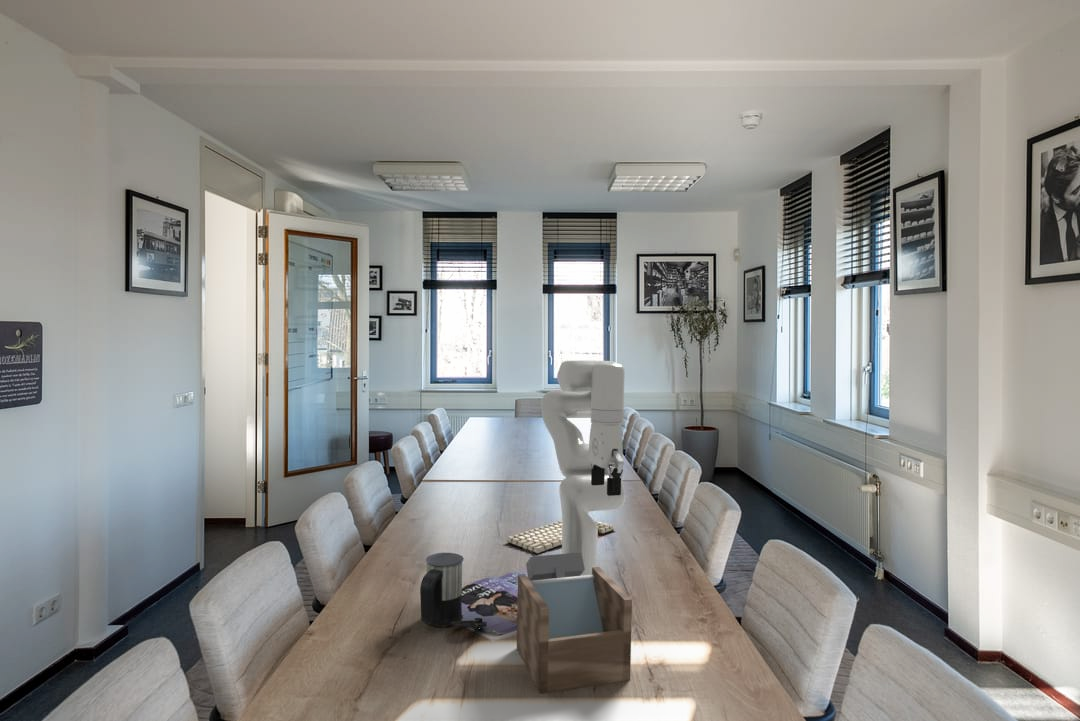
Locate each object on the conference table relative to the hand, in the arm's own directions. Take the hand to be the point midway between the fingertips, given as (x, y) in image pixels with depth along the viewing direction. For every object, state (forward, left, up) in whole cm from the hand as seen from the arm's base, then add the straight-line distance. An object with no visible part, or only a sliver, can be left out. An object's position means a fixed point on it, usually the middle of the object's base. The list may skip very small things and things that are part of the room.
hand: (605, 489), depth 146 cm
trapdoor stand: (+12, -12, -33) cm, 37 cm away
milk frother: (-12, -33, -34) cm, 48 cm away
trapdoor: (+3, -12, -25) cm, 28 cm away
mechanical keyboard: (-66, +12, -34) cm, 76 cm away
